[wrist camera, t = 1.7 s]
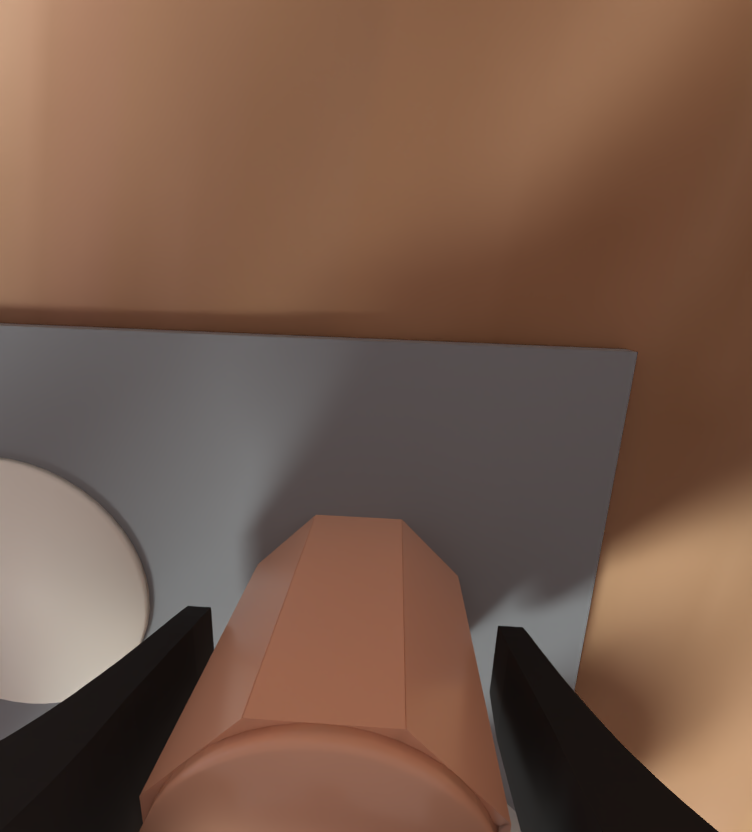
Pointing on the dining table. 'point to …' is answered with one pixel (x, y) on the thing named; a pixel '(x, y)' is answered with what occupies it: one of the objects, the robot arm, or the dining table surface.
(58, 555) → the pad
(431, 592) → the tan piece
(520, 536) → the mat
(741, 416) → the dining table surface
